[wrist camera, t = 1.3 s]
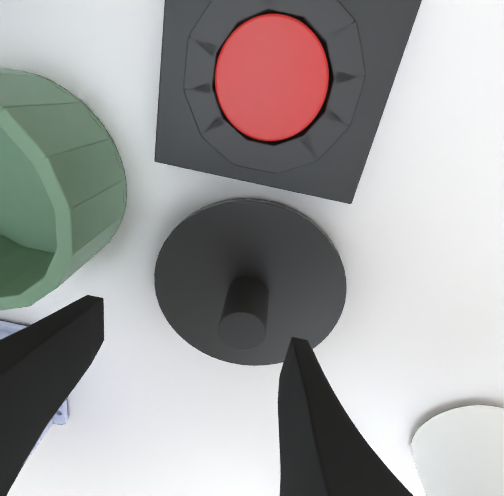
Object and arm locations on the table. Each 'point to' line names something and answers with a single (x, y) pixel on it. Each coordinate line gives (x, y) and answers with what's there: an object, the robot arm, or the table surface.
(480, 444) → the beverage can
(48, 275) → the green pot
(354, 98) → the button base
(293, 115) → the button
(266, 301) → the lid
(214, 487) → the table surface
